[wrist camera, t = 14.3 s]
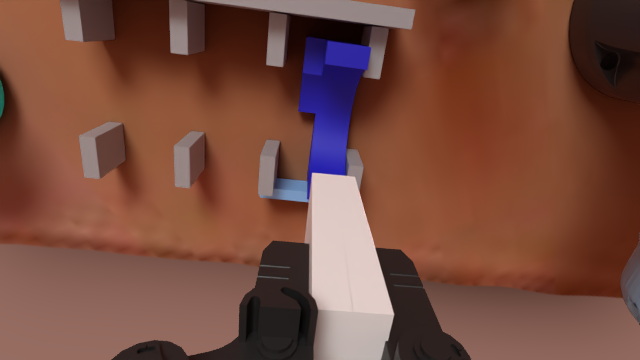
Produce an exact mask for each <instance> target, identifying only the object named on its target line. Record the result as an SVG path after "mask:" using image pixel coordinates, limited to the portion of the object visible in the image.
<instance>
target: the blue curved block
mask: <svg viewBox="0 0 640 360" xmlns="http://www.w3.org/2000/svg"><path fill="white" fill-rule="evenodd" d="M370 52H371V47H369V46H366V45H363V44H359V43H352V42H345V41H338V40H331V39H324V38H317V37H310V36H307V37H306V46H305V55H304V64H303V73H302V83H301V92H300V101H299V110H298V111H300V112H307V113H315V119H314V127H313V134H312V142H311V150H310V157H309V165H308V173H307V199H309V197H310V187H311V178H312V173H321V174H332V175H342V176H345V162H346V147H347V137H348V130H349V123H350V117H351V111H352V106H353V101H354V97H355V93H356V89H357V86H358V83H359V80H360V77H361V75H362V73H363V72H364V71H365V70H367V69H368V63H369V58H370Z"/></svg>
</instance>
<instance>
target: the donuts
mask: <svg viewBox="0 0 640 360" xmlns="http://www.w3.org/2000/svg"><path fill="white" fill-rule="evenodd" d="M3 108H4V91H3V86H2V83H1V80H0V117H1V115H2V112H3Z"/></svg>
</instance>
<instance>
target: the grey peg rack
mask: <svg viewBox="0 0 640 360" xmlns="http://www.w3.org/2000/svg"><path fill="white" fill-rule="evenodd" d="M190 1H192V2H190ZM194 2H199V3H207V4H214V5H221V6H229V7H236V8H243V9H250V10H258V11H265V12H270V15H269V30H268V46H267V61H266V65H271V66H278V67H283V66H284V65H285V63H286V62H287V51H288V39H289V27H290V16H289V15H294V16H302V17H309V18H316V19H324V20H331V21H338V22H345V23H353V24H360V25H367V26H364V27H363V34H362V40H361V44H363V45H366V46H369V47H371V52H370V58H369V63H368V69H367V70H365V71H364V72H363V73H362V76H363V77H365V78H373V79H380V75H381V70H382V64H383V59H384V53H385V48H386V42H387V37H388V31H389V29H412V24H413V19H414V14H415V10H413V9H406V8H399V7H392V6H385V5H378V4H371V3H363V2H356V1H349V0H185V1H184V0H169V18H170V48H171V53H176V54H184V55H190V54H194V53H199V52H203V51H205V5H204V4H199V3H194ZM60 3H61V10H62V18H63V25H64V32H65V39H66V40H73V41H81V42H88V41H103V40H115V31H114V20H113V8H112V0H60ZM271 12H272V13H271ZM279 13H280V14H279ZM286 14H287V15H286ZM374 26H375V27H374ZM381 27H382V28H381ZM388 28H389V29H388ZM79 141H80V148H81V155H82V162H83V170H84V177H86V178H96V179H100V178H102V177H103V176H105V175H106V174H107V173H109V172H110V171H111V170H113V169H114V168H116V167H117V166H118V165H120V164H121V163H123V162H124V161H125V160H126V156H125V144H124V133H123V123H116V122H107V123H105V124H103V125H101V126H99V127H96V128H94V129H92V130H90V131H88V132H86V133H84V134H82V135H80V136H79ZM279 145H280V141H276V140H266V143H265V145H264V148H263V150H262V153H261V156H260V170H259V186H258V195H260V197H261V198H271V199H281V200H291V201H301V202H309V199H307V181H301V180H291V179H282V178H277V169H278V157H279ZM174 168H175V187H185V188H190V187H191V186H192V185H193V183H194V182H195V181H196V179H197V178H198V177H199V175H200V174H201V173H202V171H203V170H204V169H205V132H196V131H191V132H189V133H188V134H187V135H186V136H185V137H184V138H183V139H181V140H180V141H179V142H178V143H177V144H176V145H175V146H174ZM363 168H364V166H363V164H362V161H361V158H360V156H359V153H358V151H357V150H356V149H347V148H346V162H345V176H353V177H355V179H356V182H357V186H358V189H359V190H360V184H361V179H362V173H363Z"/></svg>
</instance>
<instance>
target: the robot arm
mask: <svg viewBox="0 0 640 360" xmlns="http://www.w3.org/2000/svg"><path fill="white" fill-rule="evenodd" d="M570 45H571V51H572V55H573V58H574V61H575V64H576V66H577V68H578V70H579V72H580V73H581V75H582V76H583V77H584V79H585V80H586V81H587V82H588V83H589V84H590V85H591V86H592V87H594V88H595V89H596V90H598V91H599V92H601V93H603V94H605V95H608V96H610V97H614V98H618V99H622V100H626V101H631V102H635V103H640V0H575V1H574V5H573V8H572V14H571V20H570ZM620 286H621V292H622V295H623V298H624V301H625V303H626V305H627V307H628V309H629V311H630V312H631V314H632V315H633V316H634V317H635V319H636V320H637V321H638V322H639V325H640V234H639V242H638V244H637V246H636V248H635V249H634V251H633V253H632V255H631V257H630V258H629V260H628V262H627V264H626V266H625V267H624V269H623V271H622V274H621V279H620ZM239 309H240V310H239V311H240V312H239V336H238V337H237V338H236V339H235V340H233V341H232V342H231V343H229V344H227V345H225V346H224V347H222V348H219V349H216V350H213V351H209V352H205V353H200V354H196V355H191V356H187V355H186V353H185V352H184V350H183V349H182V348H181V347H179V346H177V345H176V344H173V343H172V342H168V341H158V340H154V341H148V342H144V343H139V344H136V345H134V346H132V347H130V348H128V349H125V350H123V351H121V352H120V353H119V354H118V355H117V356H115V357H114V358H113V359H112V360H471V359H470V356H469V355H468V353H467V352H466V350H465V349H464V347H463V346H462V345H461V344H460V343H459V342H458V341H456V340H455V339H454V338H453V337H451V336H450V335H448V334H446V333H444V332H443V331H442V329H441V327H440V325H439V322H438V320H437V317H436V315H435V313H434V310H433V308H432V306H431V303H430V301H429V299H428V296H427V294H426V292H425V289H423V285H422V282H421V280H420V278H419V277H418V273H417V271H416V268H415V266H414V264H413V261H412V260H411V259H410V258H408V257H407V256H406V255H405V254H404V253H403V252H402V251H401V250H397V249H385V248H375V246H374V242H373V239H372V235H371V232H370V228H369V225H368V221H367V218H366V214H365V210H364V207H363V203H362V200H361V196H360V193H359V189H358V186H357V182H356V179H355V177H353V176H342V175H332V174H321V173H312V178H311V187H310V197H309V206H308V215H307V225H306V234H305V243H295V242H283V241H272V242H271V243H270V244H269V245H268V246H267V247H266V248H265V249H264V250H263V253H262V258H261V262H260V267H259V272H258V277H257V281H256V286H255V288H254V289H252V290H251V291H250V292H248V293H247V294H246V295H245V296H244V298H243V300H242V302H241V303H240V308H239Z"/></svg>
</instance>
